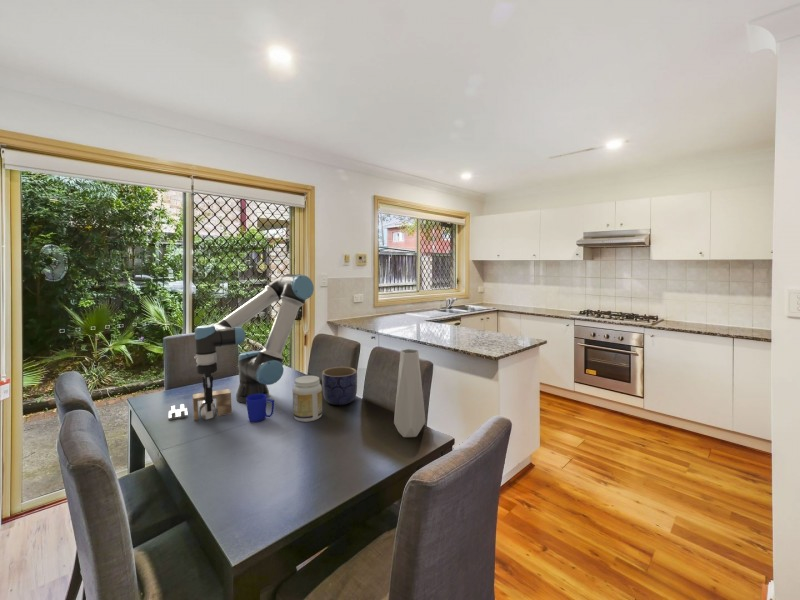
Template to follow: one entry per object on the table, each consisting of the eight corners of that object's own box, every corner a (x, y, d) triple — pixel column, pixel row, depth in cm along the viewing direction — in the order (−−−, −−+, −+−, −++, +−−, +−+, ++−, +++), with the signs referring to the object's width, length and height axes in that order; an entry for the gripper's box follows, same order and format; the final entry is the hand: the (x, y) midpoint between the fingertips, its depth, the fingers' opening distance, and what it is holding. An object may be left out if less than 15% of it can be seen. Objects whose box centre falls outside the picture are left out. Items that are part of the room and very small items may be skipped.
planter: (364, 399, 183) (364, 369, 182) (341, 410, 169) (341, 378, 168) (338, 393, 192) (338, 364, 191) (315, 403, 178) (314, 372, 177)
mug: (269, 425, 154) (268, 401, 153) (242, 422, 156) (241, 399, 155) (279, 417, 162) (278, 394, 161) (254, 415, 164) (253, 392, 163)
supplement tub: (312, 409, 171) (312, 372, 169) (327, 417, 162) (327, 378, 161) (288, 416, 162) (287, 378, 161) (302, 425, 154) (301, 385, 152)
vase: (388, 429, 150) (388, 349, 147) (414, 425, 154) (415, 346, 151) (400, 443, 139) (400, 356, 136) (428, 437, 143) (429, 353, 140)
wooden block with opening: (229, 408, 171) (229, 388, 170) (231, 413, 166) (230, 392, 165) (193, 415, 163) (192, 394, 162) (194, 420, 158) (193, 398, 157)
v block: (186, 410, 169) (186, 403, 169) (187, 416, 162) (187, 410, 161) (168, 413, 166) (168, 406, 165) (168, 420, 158) (168, 413, 158)
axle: (213, 407, 174) (213, 394, 174) (216, 418, 161) (216, 404, 161) (198, 408, 171) (198, 396, 170) (200, 420, 158) (200, 406, 158)
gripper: (195, 360, 159) (198, 414, 161) (197, 367, 148) (200, 425, 150) (214, 358, 163) (217, 410, 165) (218, 365, 152) (221, 421, 154)
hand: (209, 417), depth 158 cm, fingers closed
